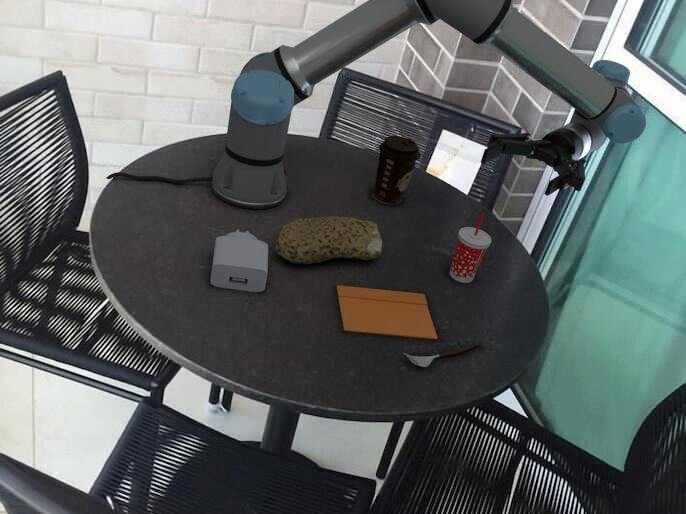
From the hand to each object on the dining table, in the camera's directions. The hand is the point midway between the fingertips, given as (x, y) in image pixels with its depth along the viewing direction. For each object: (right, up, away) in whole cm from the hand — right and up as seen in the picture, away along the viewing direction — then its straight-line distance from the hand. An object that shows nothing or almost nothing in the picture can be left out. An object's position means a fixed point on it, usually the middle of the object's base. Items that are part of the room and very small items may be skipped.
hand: (515, 172), depth 148 cm
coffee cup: (-21, -2, +25) cm, 33 cm away
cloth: (-25, -25, -9) cm, 36 cm away
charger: (-50, -17, -5) cm, 53 cm away
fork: (-16, -32, -16) cm, 39 cm away
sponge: (-35, -15, +2) cm, 38 cm away
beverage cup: (-9, -19, +5) cm, 22 cm away
